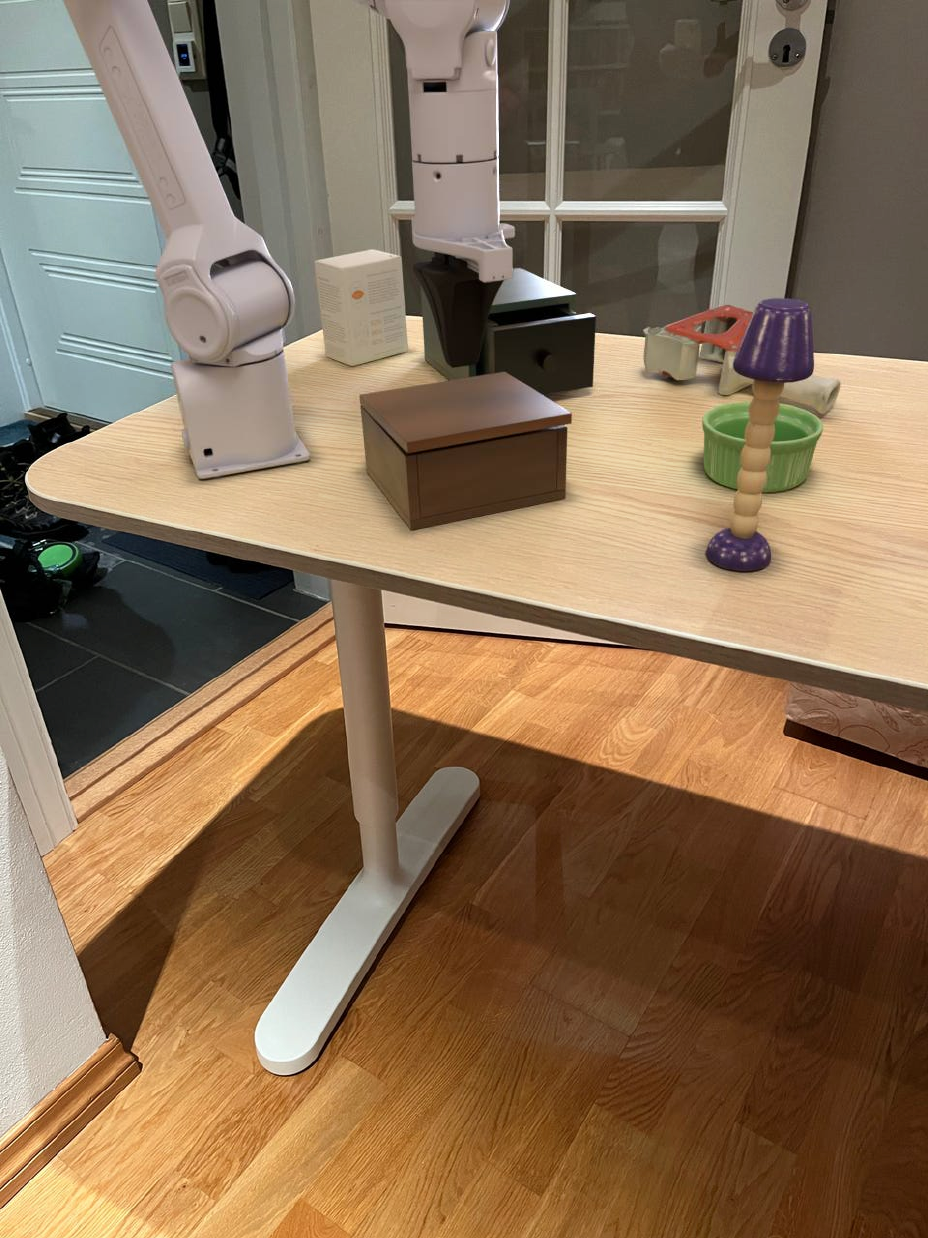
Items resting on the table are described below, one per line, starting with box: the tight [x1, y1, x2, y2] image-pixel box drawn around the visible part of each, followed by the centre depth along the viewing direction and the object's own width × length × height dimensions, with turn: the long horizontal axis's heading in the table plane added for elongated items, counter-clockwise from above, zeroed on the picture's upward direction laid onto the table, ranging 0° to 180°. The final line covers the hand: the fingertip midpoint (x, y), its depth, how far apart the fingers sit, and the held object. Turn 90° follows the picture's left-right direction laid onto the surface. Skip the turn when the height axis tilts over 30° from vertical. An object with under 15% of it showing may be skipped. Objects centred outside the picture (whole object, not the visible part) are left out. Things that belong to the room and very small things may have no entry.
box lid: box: [358, 372, 573, 453], centre depth 69 cm, size 12×13×1 cm
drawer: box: [476, 305, 597, 396], centre depth 90 cm, size 14×10×7 cm
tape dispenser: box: [642, 304, 842, 415], centre depth 89 cm, size 18×5×20 cm
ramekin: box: [701, 400, 824, 493], centre depth 71 cm, size 9×9×4 cm
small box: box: [314, 248, 409, 367], centre depth 100 cm, size 8×6×10 cm
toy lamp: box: [705, 297, 815, 572], centre depth 57 cm, size 5×5×17 cm
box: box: [359, 404, 568, 531], centre depth 71 cm, size 12×13×6 cm
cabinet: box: [419, 267, 577, 381], centre depth 95 cm, size 14×12×9 cm
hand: (461, 363), depth 67 cm, fingers closed
